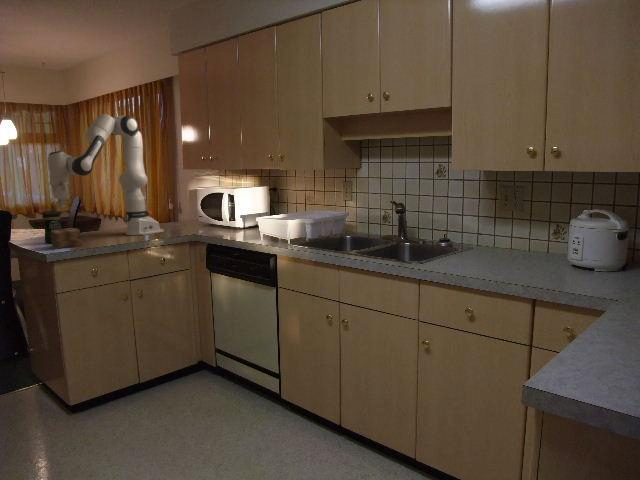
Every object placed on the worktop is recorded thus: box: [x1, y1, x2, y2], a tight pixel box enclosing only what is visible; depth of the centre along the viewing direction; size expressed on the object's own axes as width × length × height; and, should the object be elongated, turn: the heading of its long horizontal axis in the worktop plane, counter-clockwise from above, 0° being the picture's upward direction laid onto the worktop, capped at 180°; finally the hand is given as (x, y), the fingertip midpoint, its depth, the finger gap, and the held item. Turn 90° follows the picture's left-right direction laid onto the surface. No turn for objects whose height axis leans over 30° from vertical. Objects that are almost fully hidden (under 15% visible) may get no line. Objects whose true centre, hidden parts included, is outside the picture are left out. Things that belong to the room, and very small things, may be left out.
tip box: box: [51, 227, 83, 250], centre depth 276 cm, size 12×12×9 cm
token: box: [55, 200, 69, 212], centre depth 273 cm, size 5×2×5 cm, turn 129°
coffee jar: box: [41, 210, 62, 244], centre depth 291 cm, size 10×8×19 cm
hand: (62, 207), depth 274 cm, fingers closed on token, 2 cm apart
